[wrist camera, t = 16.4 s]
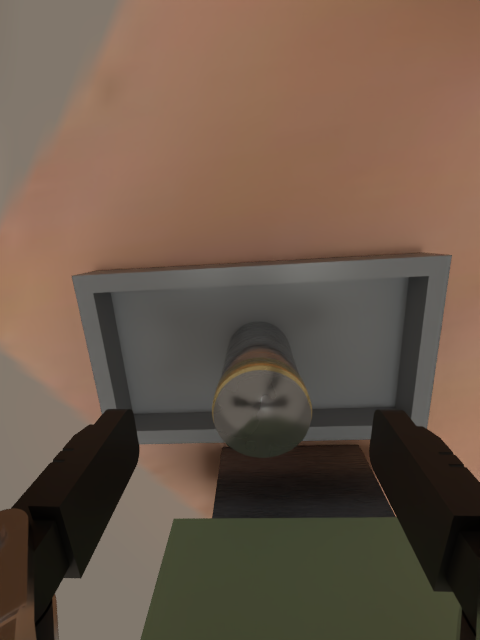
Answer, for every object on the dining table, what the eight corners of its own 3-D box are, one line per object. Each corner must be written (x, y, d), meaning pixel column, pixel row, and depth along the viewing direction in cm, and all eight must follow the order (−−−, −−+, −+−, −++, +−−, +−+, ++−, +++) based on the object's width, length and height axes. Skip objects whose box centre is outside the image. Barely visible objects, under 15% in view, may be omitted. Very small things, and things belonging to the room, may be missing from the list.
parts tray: (95, 270, 18) (71, 275, 16) (423, 252, 17) (451, 255, 14) (125, 421, 21) (108, 444, 19) (404, 414, 20) (425, 438, 18)
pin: (223, 321, 18) (206, 372, 11) (291, 318, 18) (314, 369, 11) (228, 381, 19) (214, 460, 12) (291, 379, 19) (312, 459, 12)
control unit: (194, 435, 21) (-64, 1326, 4) (388, 431, 20) (1153, 1520, 3) (200, 488, 22) (29, 1324, 5) (382, 486, 22) (892, 1456, 4)
